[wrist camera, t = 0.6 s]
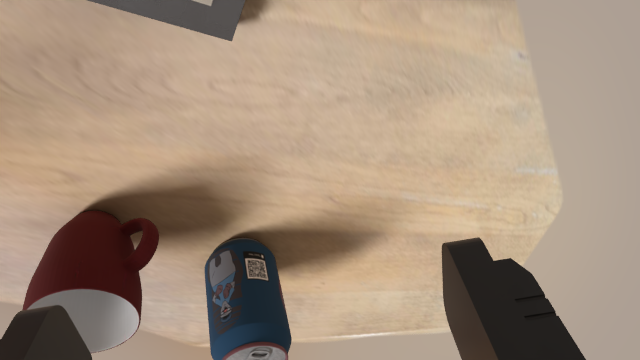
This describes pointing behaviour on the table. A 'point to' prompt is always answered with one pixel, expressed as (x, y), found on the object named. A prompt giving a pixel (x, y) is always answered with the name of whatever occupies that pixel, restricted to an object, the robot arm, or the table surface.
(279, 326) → the soda can
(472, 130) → the table surface
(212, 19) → the grey peg board
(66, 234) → the mug
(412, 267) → the table surface
